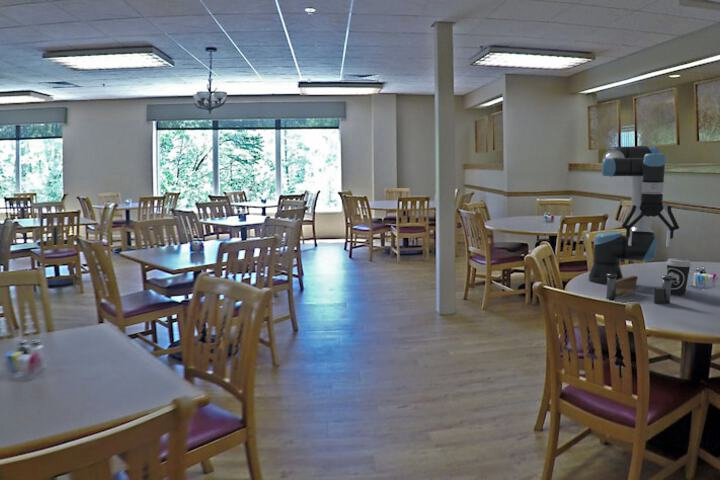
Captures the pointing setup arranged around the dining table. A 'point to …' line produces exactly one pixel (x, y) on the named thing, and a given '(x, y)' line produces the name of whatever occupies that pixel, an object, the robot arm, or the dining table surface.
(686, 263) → the coffee cup
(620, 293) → the brown wooden board
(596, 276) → the robot arm
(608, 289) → the hinge post
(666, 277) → the post
